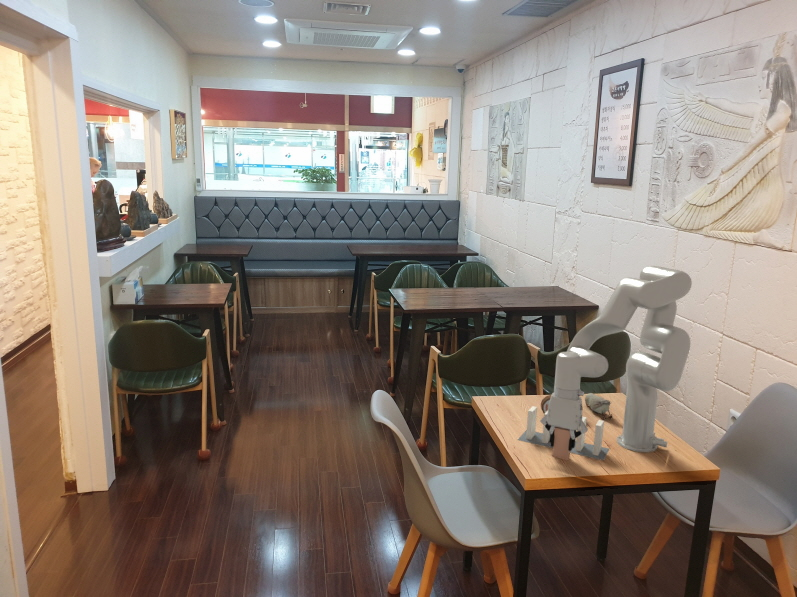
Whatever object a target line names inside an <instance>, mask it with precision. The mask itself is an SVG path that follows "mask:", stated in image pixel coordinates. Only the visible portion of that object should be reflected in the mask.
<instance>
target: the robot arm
mask: <svg viewBox="0 0 797 597" xmlns="http://www.w3.org/2000/svg"><path fill="white" fill-rule="evenodd" d="M692 284H693V283H692V278H691V276H690V274H688V273H687V272H685V271H683V270H679V269H673V268H667V267H663V266H659V265H658V266H657V265H649V266H648V265H647V266H645V267H643V268H642V269H641V271H640V273H639V278H637V277H624V278H622V279H621V280H620V281H619V282H618V284H617V286H616V287H615V288H614V290H613V292H612V294H611V295H610V297H609V299H608V301H607V302H606V304H605V306H604V307H603V309H602V311H601V313H600V314H599V316H598V317H596V318H595V319H594V320H592V321H590V322H589V323H587V324H585V326H584V327H582V328H581V329H579V331H578V332H577V333H576V334H575V335H574V337H573V339H572V341H571V342H570V344H569V345H568V348H567V350H566V351H560V352H558V354H557V356H556V362H555V373H554V375H555V376H554V386H553V392H552V393H551V394H550V395H551V398H550V402H549V407H548V413H547V414H546V415H545V416H544V415H543V417H542V418H541V419H540V421H539V422H540V423H541V424H542V425H544V426H545V427H546V429H547V430H548V431H549V434H550V443H551V447H553V446H554V431H555V427H560V428H564V429H569V430H570V434H571V438H570V439H569V449H568V450H569V451H571V450H572V449H573V448H574V447H575V441H576V439H577V437H578V436H580V435H581V434H583V433H585V434H586V433H587V432H588V430H589V429H588V427H587V424H586V425H585V424H584V422H583V421H582V416H583V410H582V407H583V400H582V399H583V398H582V397H585V391H582V390H581V386H580V385H581V378H583V377H584V378H599V377H602V376H604V375H605V374H606V373H607V372H608V370H609V362H608V359H607V358H606V356H604V355H602V354H600V353H598V352H596V351H593V350H591V347H592V346H593V344H594V343H595V342H596V341H597V340H599V339H601V338H602V337H605V336H609V335H613V334H617V333H620V332H623V331H625V330H626V329H627V326H628V325H629V323H630V321H631V320H632V317H633V316H634V314H635V312H636V310H637V309H638V308H641V309H644V310H646V315H645V318H644V320H643V325H642V327H641V328H642V329H641V331H640V336H639V342H640V345H642V347H644V348H645V349H647V350H651V351H653V352H654V353H658V354H661V355H660V356H657V355H653V354H650V353H648V352H644V351H643V352H642V351H639V352H635V353H633V354H631V355H630V356H629V358H627V361H626V364H625V372H626V373H625V374H626V383H627V384H626V385H627V386H626V395H625V404H624V405H625V406H624V416H623V417H624V418H623V428H622V434H620V435H618V436H617V437H616V443H617V444H618V445H619V446H620V447H621V448H624V449H626V450H629V451H633V452H638V453H652V452H655V451H656V450H657V449H658V446H660V447H661V448H662V447H663V448H665V449H666V448H668V441H666V440H665V438H661V437H658V436H656V432H655V431H654V430H655V425H656V424H655V423H656V417H657V416H656V415H657V406H658V398H659V395H658V390H659V391H662V392H671V391H673V390H674V389H676V387H677V386H678V385H679V383H680V381H681V379H682V375H683V372H684V369H685V366H686V363H687V359H688V355H689V353H690V349H691V338H690V335H689V333H688V332H687V331H686V330H684V329H683V328H681V327H678V326H674V325H675V324H674V323H675V319H676V314H677V310H678V307H677V301H678V300H681V299H682V298H684V297H686V296H687V294H688V293H689V292H690V290H691V288H692ZM581 396H582V397H581ZM579 426H580V427H581V430H578V429H579ZM577 430H578V431H577Z"/></svg>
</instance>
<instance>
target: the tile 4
mask: <svg viewBox="0 0 797 597" xmlns="http://www.w3.org/2000/svg"><path fill="white" fill-rule="evenodd" d="M587 420H588V419H587V416H583V415H582V421H583V422H584V424H585V425H586V426H587ZM578 430H581V427H580V426H579V429H578ZM578 430H576V431H578ZM585 440H586V433H583V434H581V435H580V436H578V437H577V438H576V440H575V441H576V451H580V452H581V450H582V448H583V447H584V443H585Z"/></svg>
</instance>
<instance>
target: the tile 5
mask: <svg viewBox="0 0 797 597" xmlns="http://www.w3.org/2000/svg"><path fill="white" fill-rule="evenodd" d="M604 423H605V420H603V419H598V421H597V422H596V424H595V430H594V438H593V445H594V448H593V455H597V456H598V455H599V453H600V451H601V447H603V446H602V445H603V436H604V426H605V424H604Z"/></svg>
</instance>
